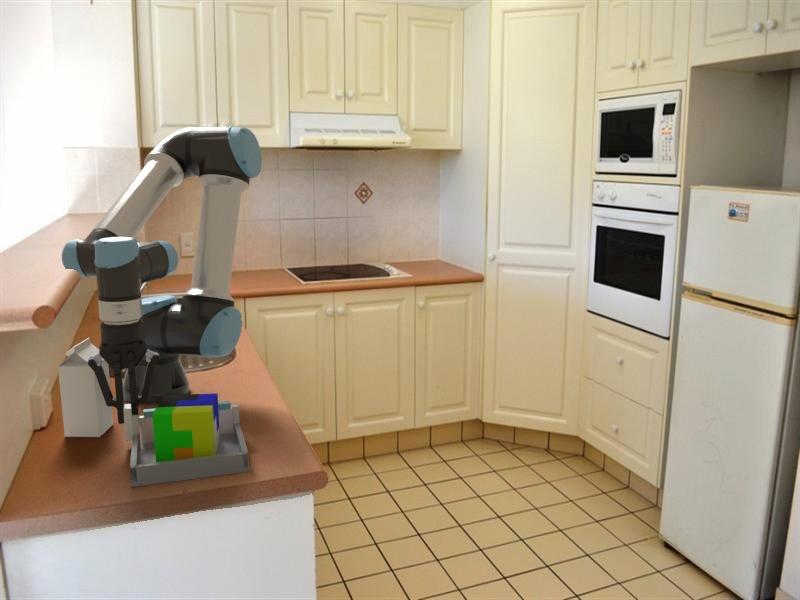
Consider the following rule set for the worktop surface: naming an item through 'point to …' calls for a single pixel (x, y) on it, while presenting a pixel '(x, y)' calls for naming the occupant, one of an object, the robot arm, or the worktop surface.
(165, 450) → the puzzle toy
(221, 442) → the grey tray
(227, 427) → the cover panel
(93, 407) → the milk carton
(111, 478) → the worktop surface
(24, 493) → the worktop surface
